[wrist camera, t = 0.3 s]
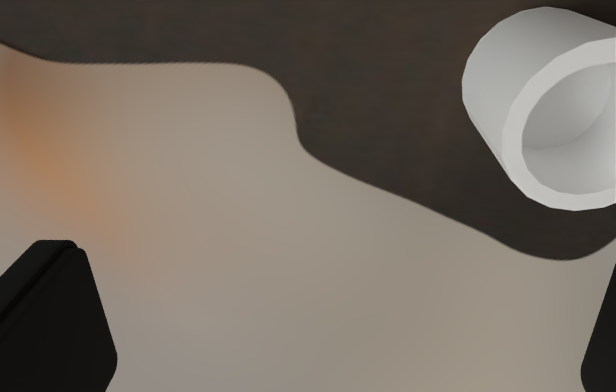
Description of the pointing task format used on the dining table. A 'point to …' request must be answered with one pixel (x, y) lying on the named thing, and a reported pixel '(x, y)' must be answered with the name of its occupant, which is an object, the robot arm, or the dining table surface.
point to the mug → (548, 105)
